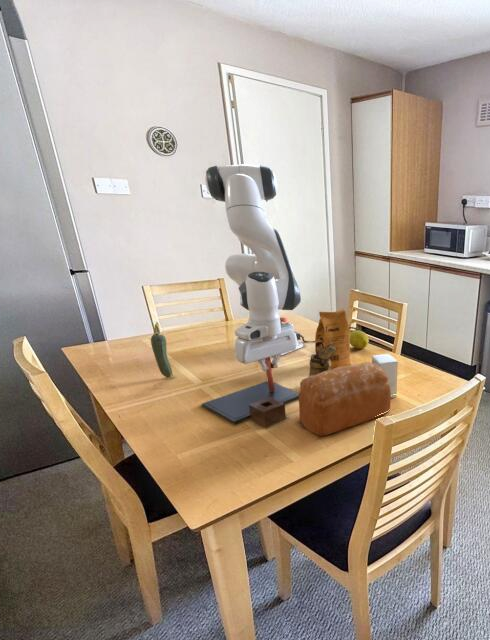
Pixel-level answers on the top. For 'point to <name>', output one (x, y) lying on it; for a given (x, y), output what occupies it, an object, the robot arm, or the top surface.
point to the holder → (267, 411)
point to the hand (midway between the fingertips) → (269, 369)
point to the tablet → (247, 401)
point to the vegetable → (161, 352)
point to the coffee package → (334, 336)
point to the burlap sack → (321, 360)
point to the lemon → (358, 339)
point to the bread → (343, 397)
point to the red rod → (269, 375)
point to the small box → (388, 370)
